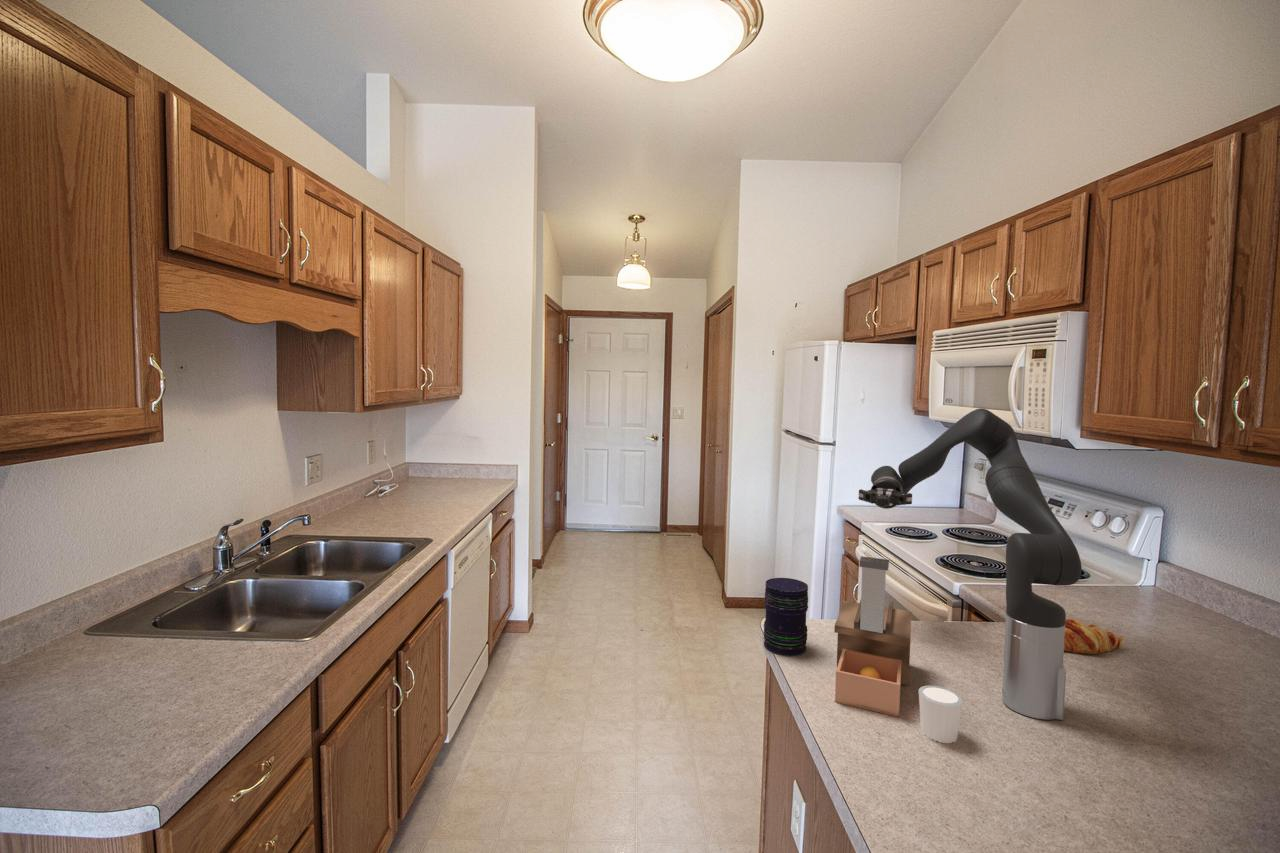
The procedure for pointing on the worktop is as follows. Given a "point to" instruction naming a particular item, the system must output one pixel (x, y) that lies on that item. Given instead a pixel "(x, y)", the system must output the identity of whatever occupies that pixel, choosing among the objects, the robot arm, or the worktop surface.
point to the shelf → (876, 635)
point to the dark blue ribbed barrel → (785, 616)
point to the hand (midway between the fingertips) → (882, 502)
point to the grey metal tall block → (873, 593)
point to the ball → (870, 672)
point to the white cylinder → (940, 713)
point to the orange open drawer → (869, 682)
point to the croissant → (1089, 638)
